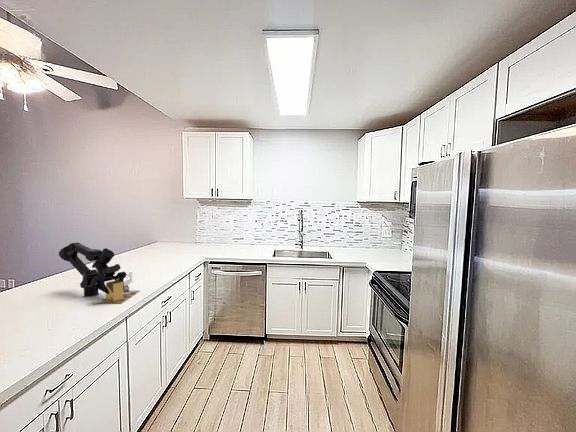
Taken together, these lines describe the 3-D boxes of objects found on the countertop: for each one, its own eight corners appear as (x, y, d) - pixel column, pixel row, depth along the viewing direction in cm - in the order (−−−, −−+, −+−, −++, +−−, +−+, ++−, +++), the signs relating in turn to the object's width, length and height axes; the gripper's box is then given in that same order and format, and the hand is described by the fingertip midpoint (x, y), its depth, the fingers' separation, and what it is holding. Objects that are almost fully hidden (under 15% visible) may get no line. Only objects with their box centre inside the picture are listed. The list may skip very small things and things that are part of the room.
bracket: (121, 282, 236) (121, 270, 235) (132, 282, 236) (132, 271, 235) (112, 287, 223) (112, 275, 222) (123, 287, 223) (123, 275, 222)
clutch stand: (121, 306, 184) (120, 295, 183) (97, 306, 183) (97, 295, 183) (140, 293, 210) (140, 283, 209) (120, 292, 209) (120, 282, 209)
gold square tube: (113, 302, 185) (113, 284, 185) (106, 301, 188) (105, 282, 188) (123, 299, 191) (123, 281, 190) (115, 298, 193) (115, 280, 193)
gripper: (93, 262, 182) (107, 286, 177) (124, 257, 198) (138, 279, 194) (84, 275, 186) (97, 299, 181) (115, 269, 202) (128, 291, 198)
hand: (116, 291), depth 188 cm, fingers open, 9 cm apart
